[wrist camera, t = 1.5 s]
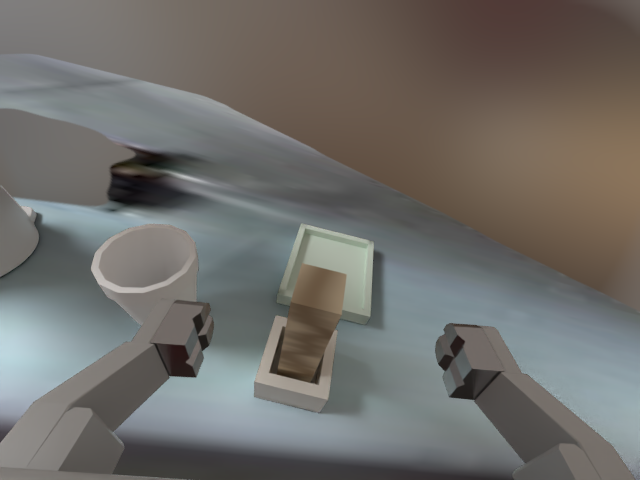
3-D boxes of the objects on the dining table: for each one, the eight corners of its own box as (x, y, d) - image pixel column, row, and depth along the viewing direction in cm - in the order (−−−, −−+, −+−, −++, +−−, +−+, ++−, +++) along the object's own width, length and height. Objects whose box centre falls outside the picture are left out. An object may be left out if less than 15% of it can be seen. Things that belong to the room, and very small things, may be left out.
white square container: (253, 396, 33) (254, 381, 29) (273, 334, 39) (275, 315, 35) (319, 413, 33) (328, 400, 29) (328, 348, 39) (337, 330, 35)
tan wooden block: (275, 380, 34) (290, 302, 21) (284, 349, 37) (302, 263, 24) (307, 388, 34) (341, 314, 21) (313, 356, 37) (346, 274, 24)
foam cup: (221, 322, 39) (212, 263, 30) (150, 366, 33) (113, 311, 24) (188, 277, 43) (171, 213, 33) (120, 311, 37) (78, 245, 28)
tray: (276, 302, 42) (277, 293, 41) (299, 232, 54) (301, 223, 52) (365, 325, 42) (370, 316, 41) (369, 250, 54) (373, 241, 52)
